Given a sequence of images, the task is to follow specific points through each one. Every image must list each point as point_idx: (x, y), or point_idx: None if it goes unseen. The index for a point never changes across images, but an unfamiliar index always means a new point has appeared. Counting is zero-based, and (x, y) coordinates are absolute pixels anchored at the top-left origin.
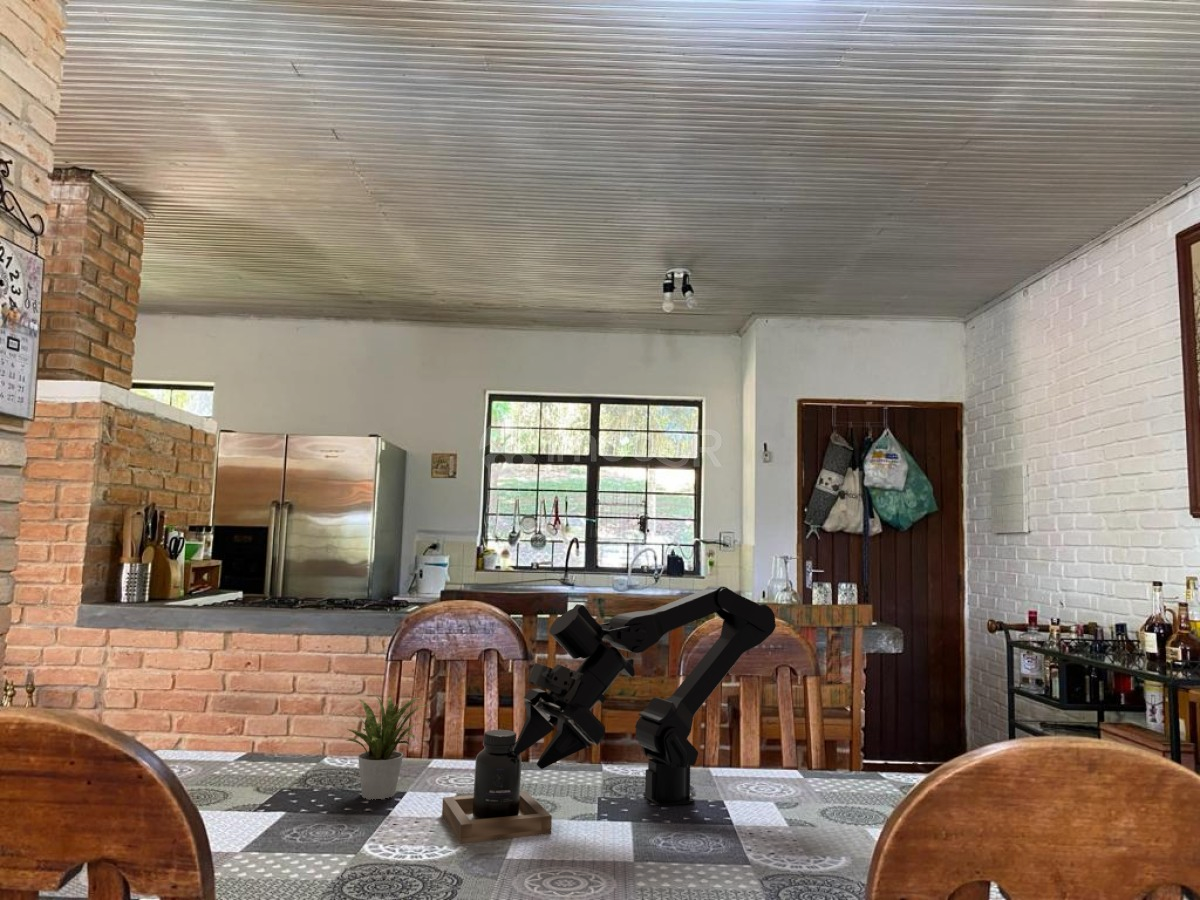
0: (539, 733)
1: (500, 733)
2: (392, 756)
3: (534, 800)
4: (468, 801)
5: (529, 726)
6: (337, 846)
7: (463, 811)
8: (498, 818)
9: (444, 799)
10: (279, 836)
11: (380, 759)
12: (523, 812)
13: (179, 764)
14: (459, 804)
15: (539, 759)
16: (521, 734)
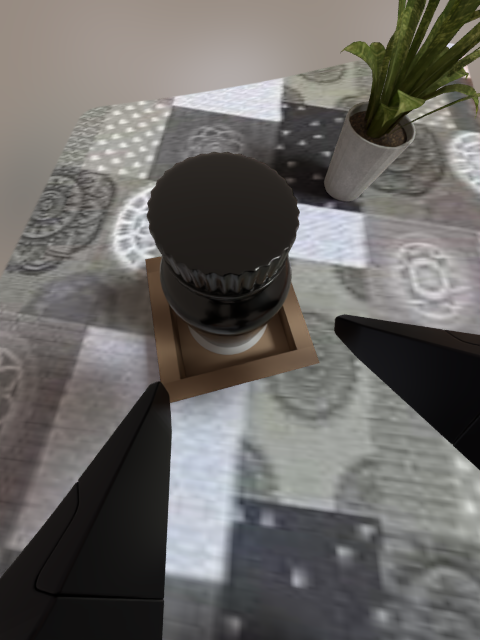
0: (449, 418)
1: (207, 205)
2: (392, 143)
3: (258, 376)
4: None
5: (462, 365)
6: (171, 164)
7: None
8: (163, 310)
9: None
10: (207, 124)
11: (366, 128)
12: (257, 358)
13: None
14: None
15: (149, 392)
16: (400, 330)
